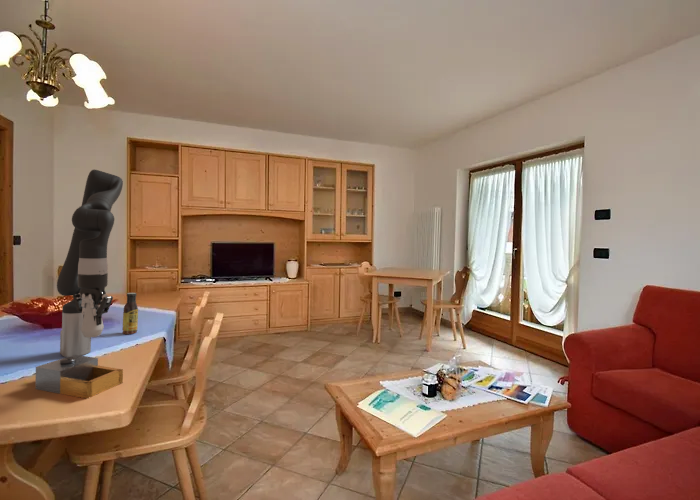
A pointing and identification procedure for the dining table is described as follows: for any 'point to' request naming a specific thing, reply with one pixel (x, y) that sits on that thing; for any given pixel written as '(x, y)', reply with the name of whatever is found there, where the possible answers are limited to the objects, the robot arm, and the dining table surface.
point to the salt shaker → (90, 322)
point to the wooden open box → (77, 376)
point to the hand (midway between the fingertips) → (92, 326)
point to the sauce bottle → (130, 315)
